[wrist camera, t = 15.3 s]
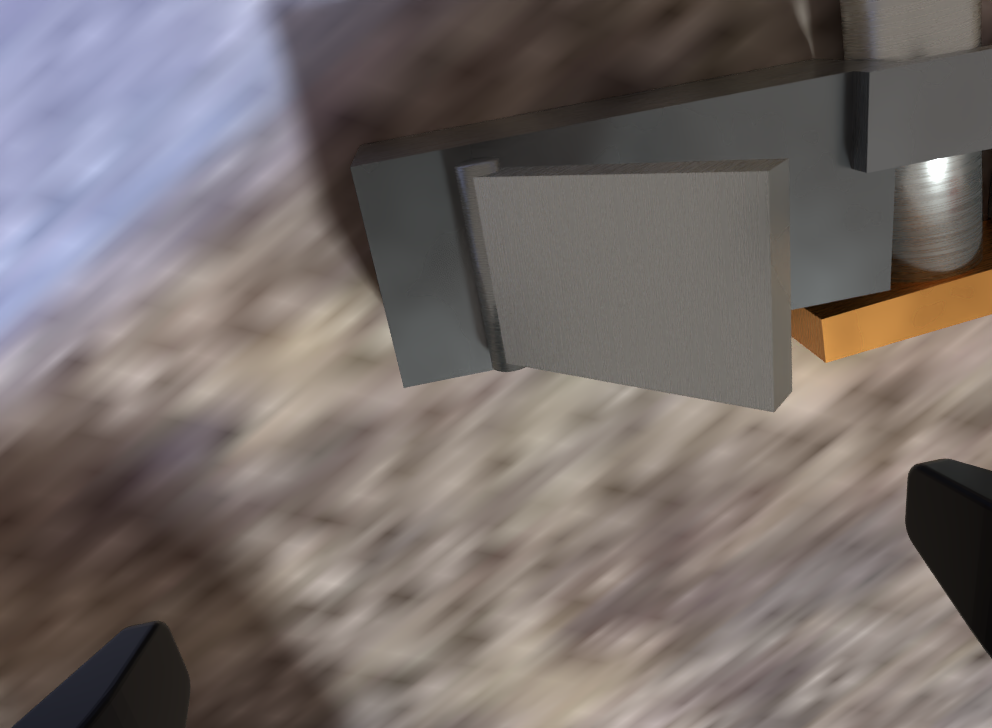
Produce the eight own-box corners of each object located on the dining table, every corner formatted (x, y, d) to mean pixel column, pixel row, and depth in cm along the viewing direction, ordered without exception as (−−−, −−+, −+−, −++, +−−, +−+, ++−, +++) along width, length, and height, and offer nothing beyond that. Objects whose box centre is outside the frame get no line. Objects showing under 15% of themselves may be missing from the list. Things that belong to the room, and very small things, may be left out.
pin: (1009, 252, 22) (1096, 283, 19) (773, 322, 22) (826, 362, 19) (1012, -159, 18) (1124, -197, 15) (722, -71, 18) (778, -92, 15)
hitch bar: (1141, 186, 21) (1304, 217, 17) (404, 332, 21) (403, 398, 17) (1176, -10, 19) (1368, -24, 15) (359, 145, 19) (348, 171, 15)
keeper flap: (509, 351, 17) (793, 400, 13) (483, 368, 17) (773, 423, 13) (474, 157, 16) (790, 144, 11) (445, 168, 15) (766, 158, 11)
